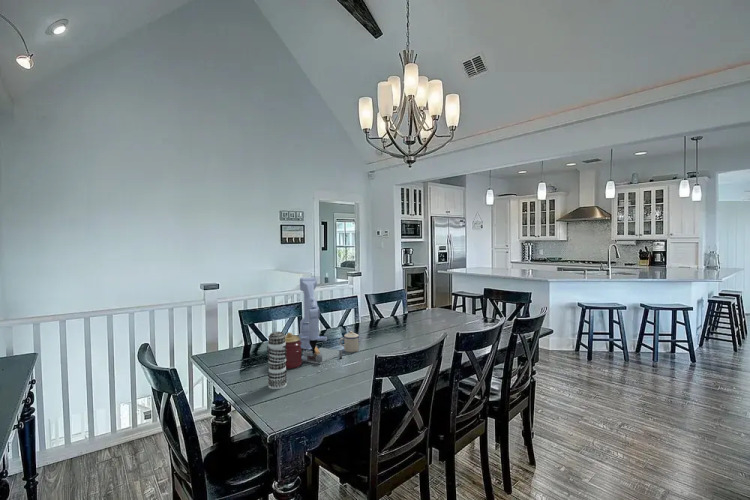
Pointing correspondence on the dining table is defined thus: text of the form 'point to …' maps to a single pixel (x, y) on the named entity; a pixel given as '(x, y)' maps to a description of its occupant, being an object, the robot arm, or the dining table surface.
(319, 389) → the dining table surface
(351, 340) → the teacup with lid
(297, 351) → the canister
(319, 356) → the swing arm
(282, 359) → the decorative candle
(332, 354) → the base plate
